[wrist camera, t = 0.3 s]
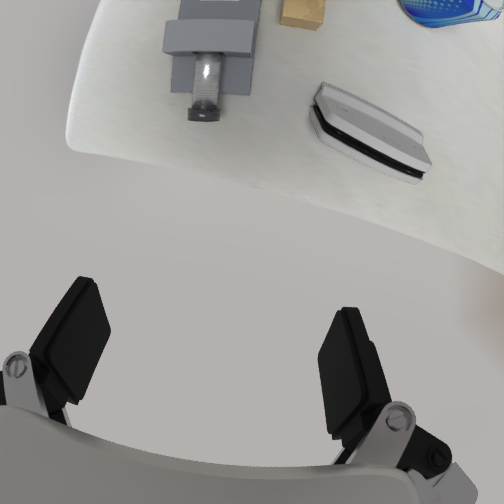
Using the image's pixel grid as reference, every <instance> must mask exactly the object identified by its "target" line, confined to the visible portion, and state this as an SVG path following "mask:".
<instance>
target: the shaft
mask: <svg viewBox="0 0 504 504" xmlns="http://www.w3.org/2000/svg"><path fill="white" fill-rule="evenodd" d="M222 54H223V52H197V53H196V63H195V73H194V84H193V97H192V108H188V120H190V121H203V122H212V121H219V119H220V109H217V103H218V92H219V82H220V72H221V63H222Z"/></svg>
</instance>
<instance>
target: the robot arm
mask: <svg viewBox="0 0 504 504" xmlns="http://www.w3.org/2000/svg"><path fill="white" fill-rule="evenodd" d="M110 333H111V328H110V325H109V322H108V319H107V316H106V313H105V310H104V307H103V303H102V300H101V297H100V294H99V290H98V286H97V284H96V283H95V282H94V280H93V279H92V278H87V277H82V276H79V277H78V278H77V279H76V280H75V282H74V283H73V284H72V286H71V287H70V288H69V290H68V291H67V293H66V294H65V295H64V297H63V298H62V300H61V301H60V303H59V304H58V306H57V307H56V308H55V310H54V312H53V313H52V314H51V316H50V318H49V319H48V321H47V322H46V324H45V325H44V327H43V329H42V330H41V332H40V333H39V335H38V336H37V338H36V340H35V342H34V343H33V345H32V347H31V349H30V350H29V351H30V353H29V355H27V354H26V353H25V352H22V351H17V352H14V353H12V354H10V355H9V356H8V357H7V358H6V360H5V361H4V364H3V370H2V371H0V504H475V502H476V500H477V496H478V491H477V488H476V486H475V485H474V484H473V483H472V481H471V480H470V479H469V478H468V476H466V474H465V473H464V472H463V471H462V469H461V468H460V467H459V466H458V464H457V463H456V462H455V463H452V462H451V461H452V453H451V450H450V448H449V446H448V445H447V444H445V443H444V442H442V441H441V440H439V439H438V438H436V437H435V436H433V435H431V434H430V433H428V432H427V431H425V430H424V429H422V428H420V427H419V426H417V425H416V416H415V413H414V411H413V410H412V408H411V407H410V406H408V405H407V404H406V403H403V402H399V401H394V402H392V400H391V396H390V393H389V389H388V386H387V383H386V379H385V376H384V373H383V369H382V367H381V363H380V360H379V357H378V354H377V351H376V348H375V345H374V343H373V342H372V341H370V340H369V337H368V335H367V331H366V328H365V325H364V322H363V320H362V317H361V314H360V311H359V309H358V308H357V307H343V308H342V309H341V310H338V311H337V312H336V315H335V317H334V319H333V322H332V324H331V327H330V329H329V331H328V333H327V335H326V338H325V340H324V342H323V344H322V347H321V349H320V351H319V353H318V366H319V372H320V379H321V386H322V393H323V400H324V408H325V416H326V424H327V431H328V433H329V434H332V440H339V439H342V446H343V448H342V450H341V451H340V453H339V454H338V455H337V457H336V458H335V459H334V461H333V462H332V463H331V465H326V466H325V465H324V466H307V467H251V466H250V467H249V466H235V465H223V464H213V463H205V462H198V461H192V460H185V459H180V458H174V457H169V456H164V455H159V454H154V453H150V452H146V451H142V450H138V449H134V448H131V447H127V446H124V445H120V444H116V443H113V442H110V441H107V440H104V439H101V438H98V437H95V436H93V435H90V434H87V433H84V432H82V431H79V430H77V429H74V428H72V426H71V423H70V420H69V417H68V415H67V412H66V409H65V405H66V402H70V403H72V404H75V405H78V403H79V400H82V399H83V397H84V395H85V393H86V390H87V388H88V385H89V383H90V380H91V378H92V375H93V373H94V371H95V368H96V366H97V364H98V361H99V359H100V357H101V354H102V352H103V350H104V348H105V345H106V343H107V341H108V339H109V336H110Z"/></svg>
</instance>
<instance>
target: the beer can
mask: <svg viewBox="0 0 504 504" xmlns="http://www.w3.org/2000/svg"><path fill="white" fill-rule="evenodd" d="M400 2H401V4H402V6H403V8H404V10H405V11H406V12H407V13H408V14H409V15H410V16H411V17H412V18H413V19H414V20H416V21H417V22H419V23H420V24H422V25H424V26H427V27H430V28H438V27H444V26H449V25H455V24H461V23H469V22H477V21H486V20H494V19H496V18H498V17H499V15H500V13H501V12H502V11H504V0H400Z"/></svg>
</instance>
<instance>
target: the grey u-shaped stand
mask: <svg viewBox="0 0 504 504" xmlns="http://www.w3.org/2000/svg"><path fill="white" fill-rule="evenodd" d="M260 4H261V0H181V4H180V10H179V16H178V20H172V21H166V25H165V33H164V41H163V50H162V52H164V53H167V54H170V55H172V56H174V57H173V67H172V79H171V92H193V84H194V73H195V63H196V53H197V52H223V54H222V63H221V72H220V82H219V92H218V93H226V94H240V95H249V94H250V85H251V76H252V68H253V59H254V51H255V43H256V35H257V27H258V19H259V12H260Z"/></svg>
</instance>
